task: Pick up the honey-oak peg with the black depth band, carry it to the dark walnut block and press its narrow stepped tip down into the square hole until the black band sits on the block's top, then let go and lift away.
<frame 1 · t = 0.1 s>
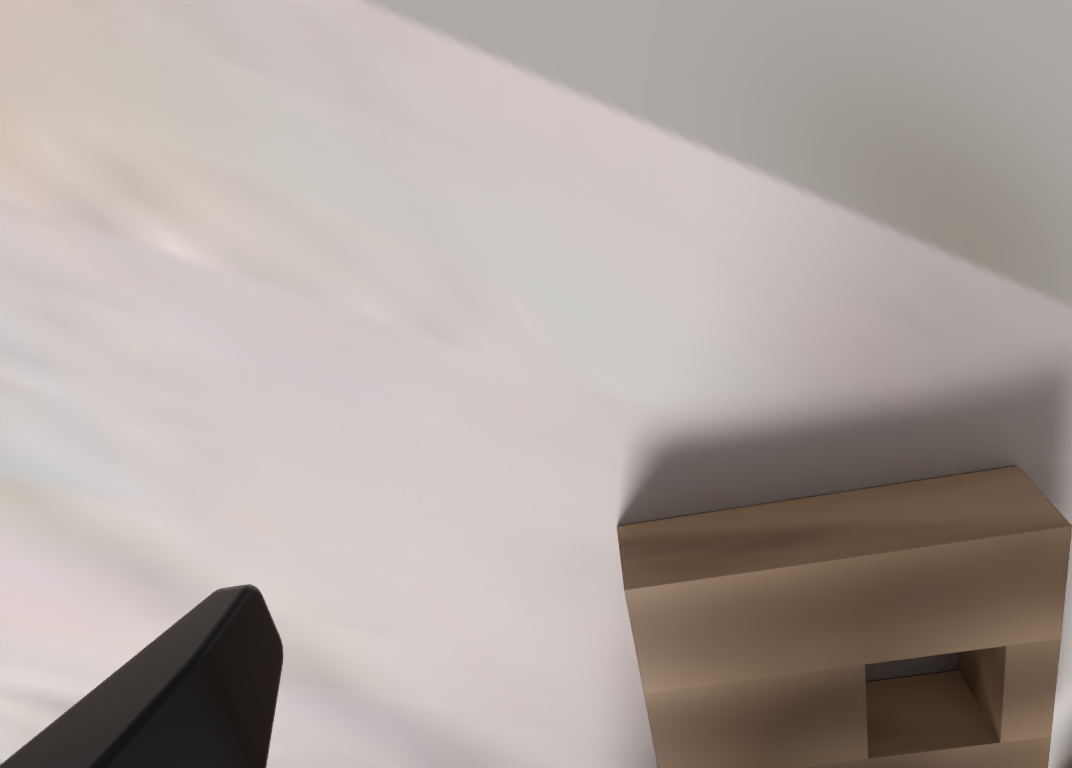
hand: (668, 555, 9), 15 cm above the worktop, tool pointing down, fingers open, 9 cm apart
walnut block: (821, 644, 29), on the worktop
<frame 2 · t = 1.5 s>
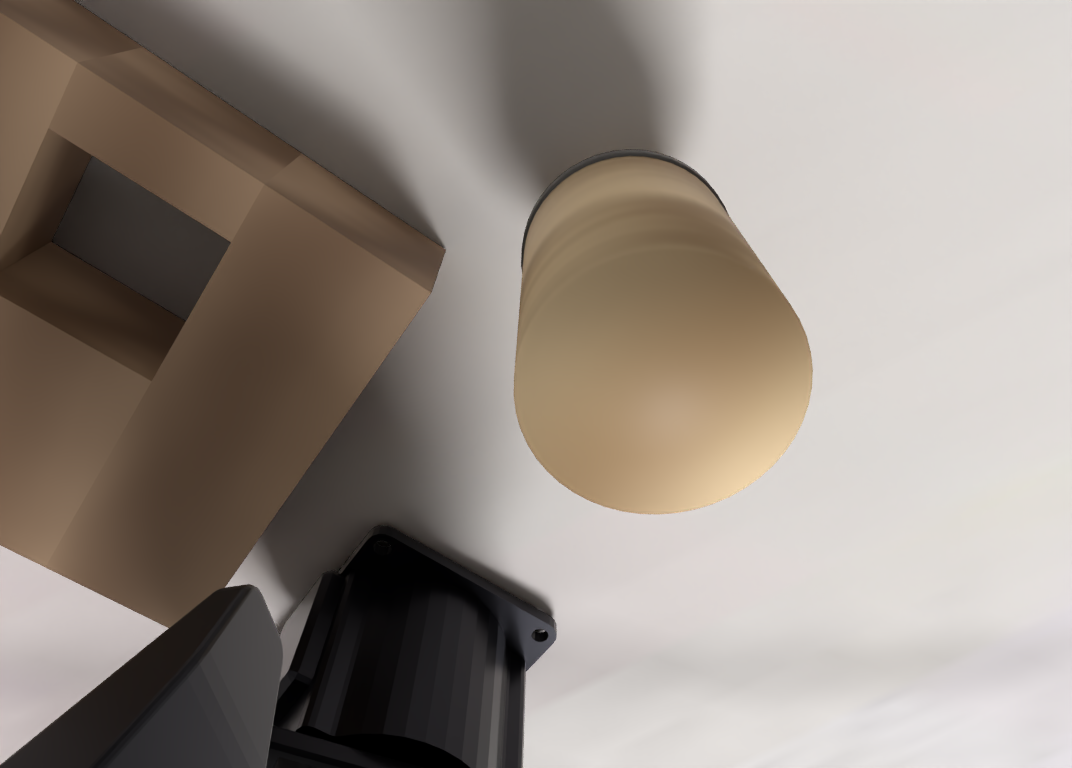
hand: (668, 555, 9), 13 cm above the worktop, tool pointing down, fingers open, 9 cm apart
walnut block: (118, 301, 22), on the worktop
oak peg: (617, 222, 21), on the worktop
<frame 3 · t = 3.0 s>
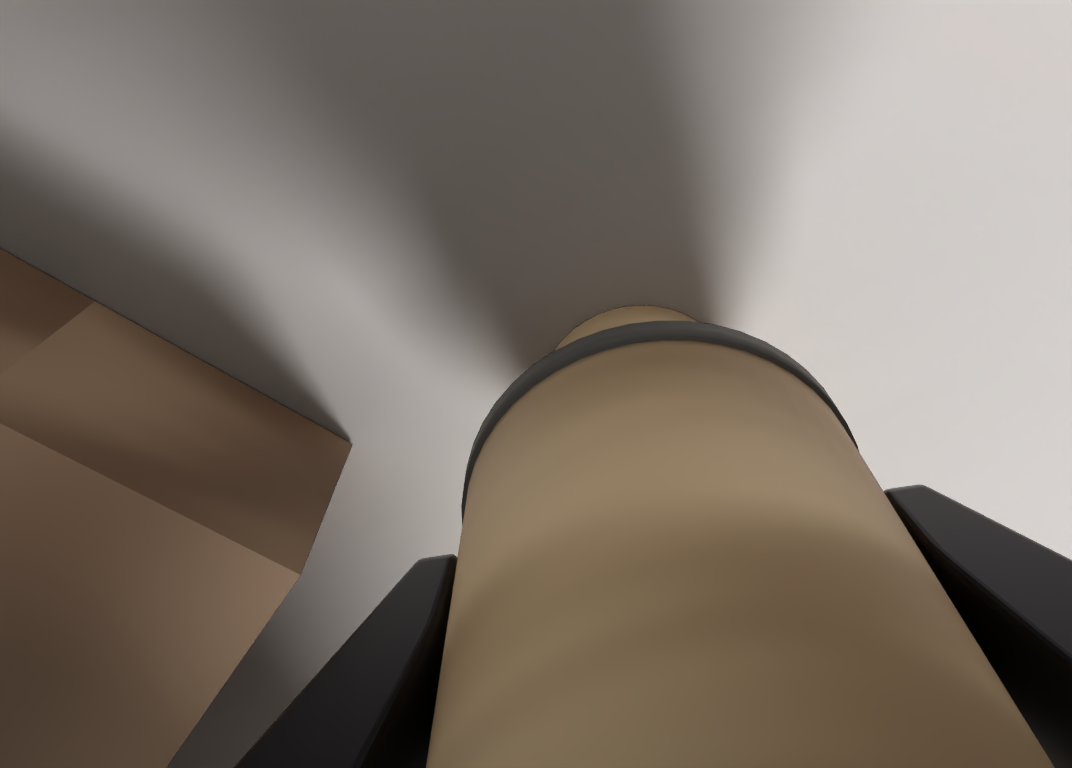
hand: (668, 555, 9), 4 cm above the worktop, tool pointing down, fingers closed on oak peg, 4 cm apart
oak peg: (637, 396, 12), on the worktop, touching gripper
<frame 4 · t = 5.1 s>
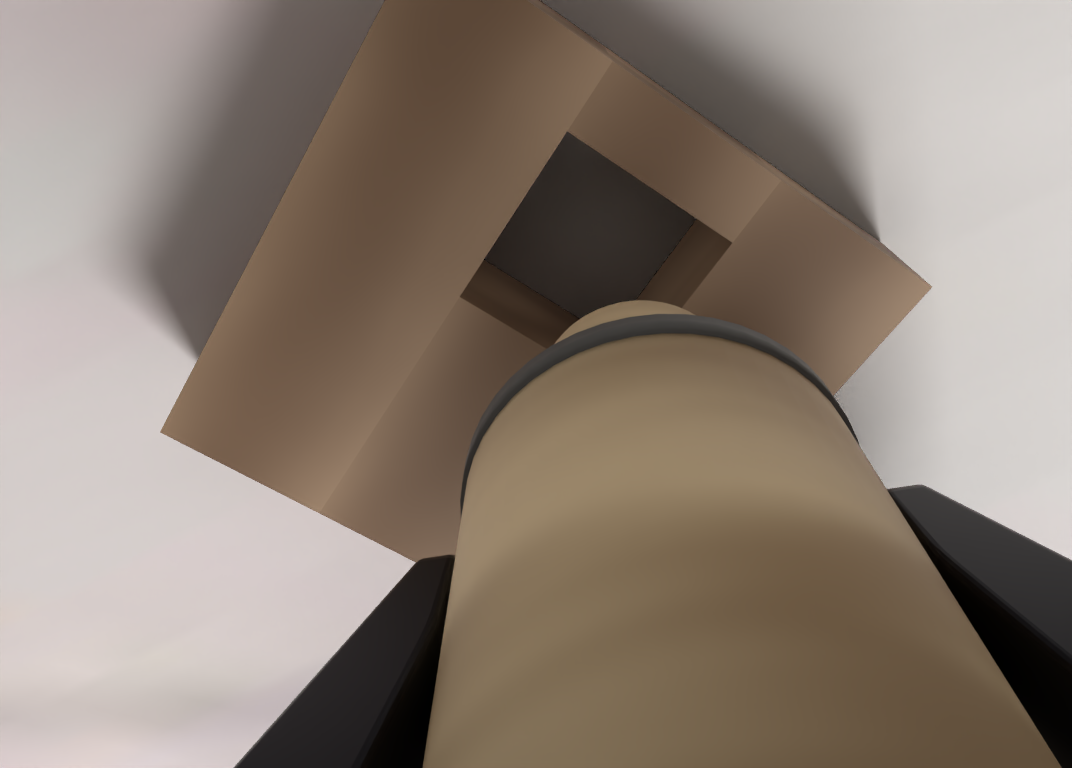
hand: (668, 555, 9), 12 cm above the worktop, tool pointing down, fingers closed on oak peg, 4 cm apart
walnut block: (530, 311, 21), on the worktop
oak peg: (636, 392, 12), point 9 cm above the worktop, touching gripper
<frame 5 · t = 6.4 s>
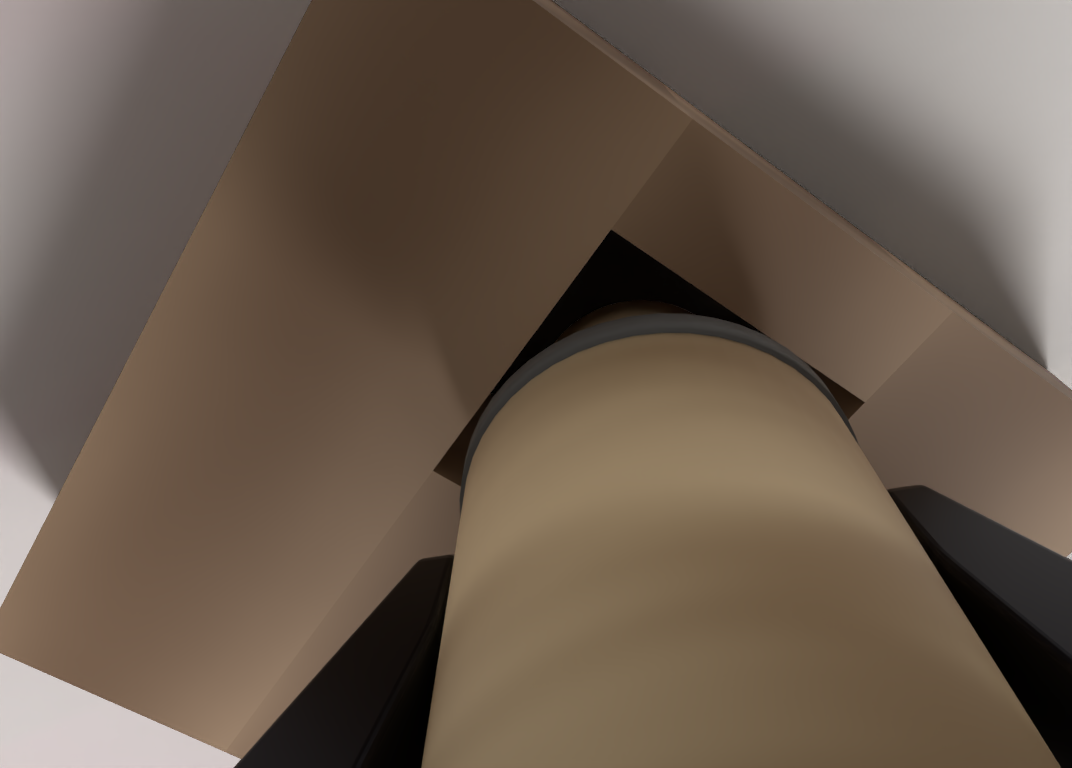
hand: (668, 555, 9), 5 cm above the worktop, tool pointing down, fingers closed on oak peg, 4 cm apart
walnut block: (537, 453, 15), on the worktop
oak peg: (636, 391, 12), point 2 cm above the worktop, touching gripper
when the fingers open (4 cm above the worktop, at t = 7.2 s): oak peg stays where it is, resting on walnut block.
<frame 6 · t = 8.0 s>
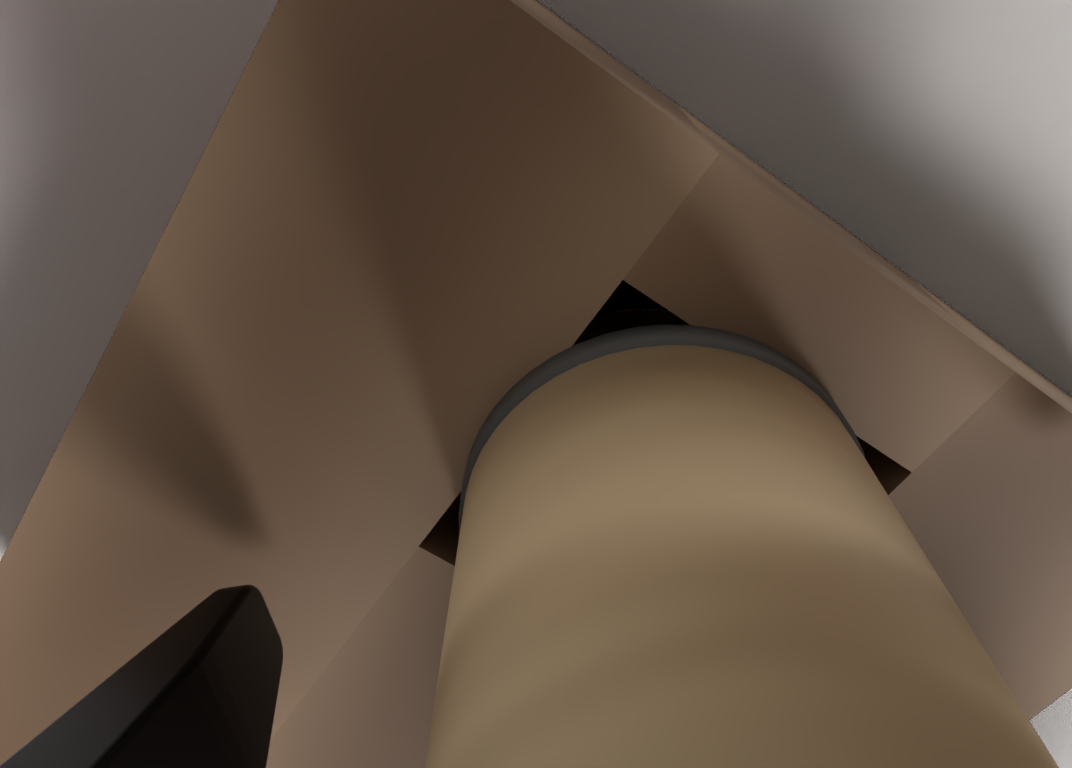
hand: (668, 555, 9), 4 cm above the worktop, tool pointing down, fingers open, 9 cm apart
walnut block: (538, 508, 13), on the worktop
oak peg: (637, 400, 12), resting on walnut block
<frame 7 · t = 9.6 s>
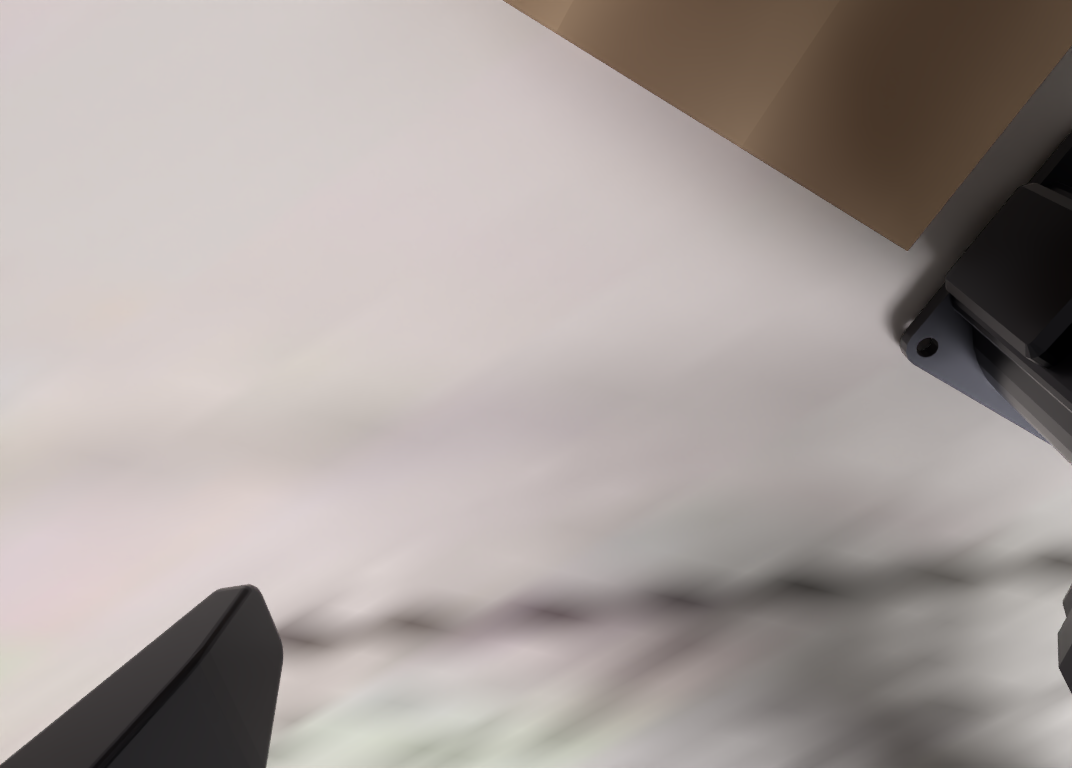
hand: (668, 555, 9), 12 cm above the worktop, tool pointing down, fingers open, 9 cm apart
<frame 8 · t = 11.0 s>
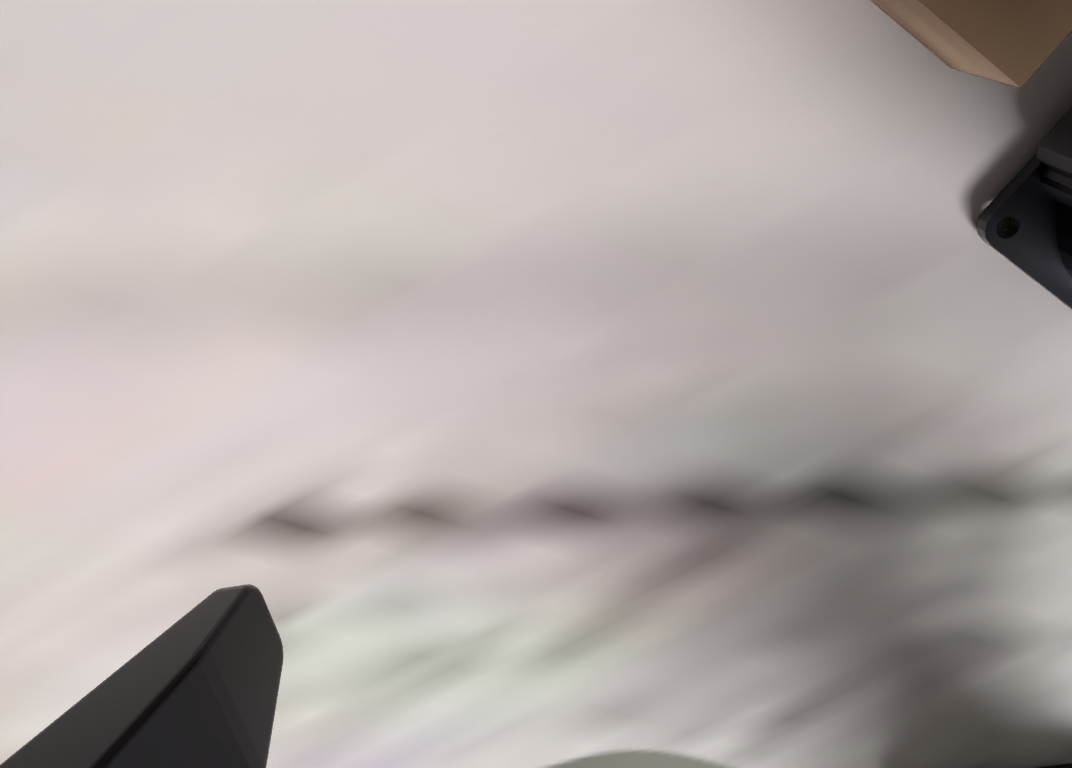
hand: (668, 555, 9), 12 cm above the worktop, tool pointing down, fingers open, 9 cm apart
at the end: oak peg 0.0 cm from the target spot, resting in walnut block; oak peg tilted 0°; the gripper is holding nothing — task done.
